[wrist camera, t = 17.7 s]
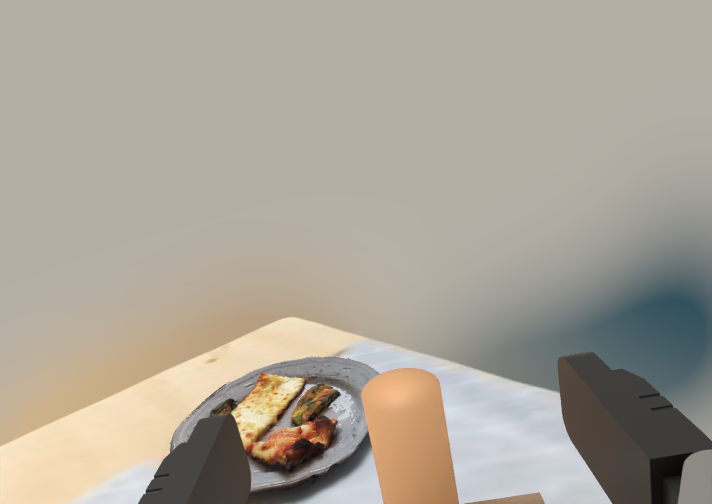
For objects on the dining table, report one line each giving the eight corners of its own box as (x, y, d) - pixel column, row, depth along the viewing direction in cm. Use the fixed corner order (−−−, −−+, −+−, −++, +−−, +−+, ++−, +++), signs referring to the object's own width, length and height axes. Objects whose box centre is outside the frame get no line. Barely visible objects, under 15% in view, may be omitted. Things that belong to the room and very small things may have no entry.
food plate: (317, 534, 38) (308, 498, 38) (126, 487, 49) (116, 458, 48) (415, 377, 60) (410, 352, 59) (267, 368, 71) (262, 347, 70)
